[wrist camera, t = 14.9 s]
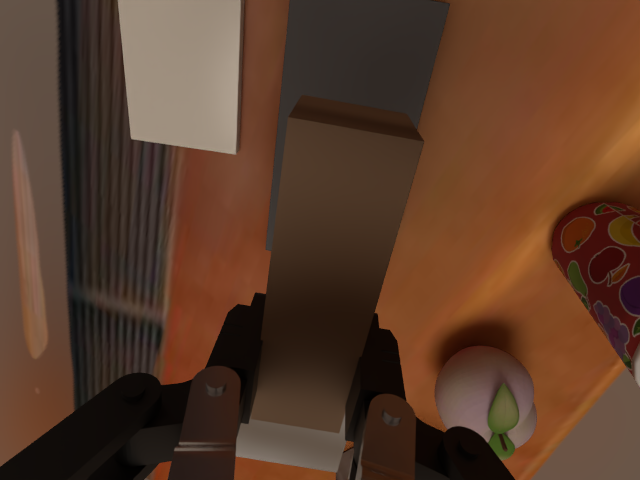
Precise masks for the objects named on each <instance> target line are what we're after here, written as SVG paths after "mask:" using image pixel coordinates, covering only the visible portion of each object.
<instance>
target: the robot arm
mask: <svg viewBox="0 0 640 480" xmlns="http://www.w3.org/2000/svg"><path fill="white" fill-rule="evenodd" d="M265 299H266V294H262V293H255V294H254V297H253V300H252V303H251V306H247V305H241V304H237V305H236V306H235V307H234V308H233V309H232V310H230V311H229V312H228V314H227V317H226V319H225V321H224V325H223V326H222V329H221V331H220V334H219V336H218V338H217V341H216V343H215V346H214V348H213V351H212V353H211V355H210V358H209V360H208V363H207V365H206V367H205V369H203V370H201V371H200V372H198V373H197V374H196V375H195V377H194V378H193V379H192V380H189V381H187V382H183V383H178V384H169V385H161V384H160V382H159V380H158V379H157V378H156V377H154V376H153V375H150V374H147V373H132V374H128V375H125V376H123V377H121V378H119V379H118V380H116V381H115V382H113V383H112V384H111V385H109V386H108V387H107V388H105V389H104V390H103V391H101V392H100V393H99V394H97V395H96V396H95V397H93V398H92V399H91V400H89V401H88V402H87V403H85V404H84V405H83V406H81V407H80V408H78V409H77V410H76V411H74V412H73V413H72V414H70V415H69V416H68V417H66V418H65V419H64V420H62V421H61V422H60V423H59V424H57V425H56V426H54V427H53V428H52V429H50V430H49V431H48V432H46V433H45V434H44V435H42V436H41V437H40V438H38V439H37V440H36V441H34V442H33V443H32V444H30V445H29V446H28V447H26V448H25V449H24V450H22V451H21V452H20V453H18V454H17V455H15V456H14V457H13V458H11V459H10V460H9V461H7V462H6V463H5V464H3V465H2V466H1V467H0V480H144V479H145V478H146V477H147V476H148V475H149V474H150V473H151V472H152V471H153V470H154V469H155V468H156V466H157V465H158V464H159V463H161V462H167V461H172V462H171V467H170V472H169V476H168V480H234V470H235V457H236V439H237V436H238V433H239V429H240V425H241V423H244V424H249V420H250V416H251V412H252V408H253V404H254V400H255V396H256V392H257V384H258V376H259V368H260V361H261V353H262V345H263V340H261V332H262V324H263V316H264V307H265ZM345 440H346V441H352V442H354V454H353V457H352V460H351V463H350V469H349V475H348V480H515V479H514V477H513V476H512V475H511V473H510V472H509V471H508V469H507V468H506V467H505V465H504V464H503V463H502V461H501V460H500V459H499V457H498V456H497V455H496V453H495V452H494V451H493V449H492V448H491V446H490V445H489V444H488V443H487V441H486V440H485V439H484V438H483V437H482V436H481V435H479V434H478V433H477V432H475V431H474V430H471V429H469V428H466V427H462V426H455V427H451V428H449V429H448V430H447V431H446V432H442V431H440V430H438V429H436V428H434V427H431V426H429V425H427V424H425V423H424V422H422V421H421V420H420V419H418V418H417V417H416V416H415V413H414V410H413V409H412V407H411V406H410V405H409V404H408V403H407V402H406V396H405V390H404V383H403V377H402V370H401V365H400V357H399V350H398V343H397V340H396V339H395V337H394V336H393V334H392V333H391V331H390V330H387V329H381V328H379V322H378V314H377V313H374V316H373V319H372V323H371V326H370V329H369V333H368V336H367V340H366V343H365V347H364V350H363V353H362V357H359V360H358V364H357V367H356V371H355V374H354V378H353V381H352V385H351V388H350V392H349V395H348V399H347V402H346V406H345Z"/></svg>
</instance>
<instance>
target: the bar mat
mask: <svg viewBox="0 0 640 480" xmlns="http://www.w3.org/2000/svg"><path fill="white" fill-rule="evenodd" d="M449 6H450V4H449V3H443V2H437V1H431V0H290V4H289V15H288V25H287V35H286V45H285V56H284V66H283V76H282V87H281V97H280V107H279V117H278V128H277V138H276V148H275V158H274V169H273V179H272V189H271V199H270V210H269V220H268V230H267V240H266V250H269V251H272V243H273V235H274V227H275V218H276V210H277V202H278V194H279V186H280V178H281V170H282V162H283V154H284V146H285V137H286V129H287V121H288V116H289V115H290V113H291V111H292V110H293V108H294V107H295V105H296V103H297V102H298V100H299V99H300V97H301V96H302V95H307V96H312V97H318V98H323V99H329V100H334V101H340V102H345V103H351V104H356V105H362V106H367V107H373V108H378V109H383V110H389V111H394V112H400V113H405V114H407V115H408V116H409V118H410V120H411V121H412V123H413V124H414V126H415V128H416V129H417V127H418V123H419V119H420V115H421V112H422V108H423V104H424V100H425V97H426V93H427V89H428V85H429V81H430V78H431V74H432V70H433V66H434V63H435V59H436V55H437V51H438V47H439V44H440V40H441V36H442V32H443V29H444V25H445V21H446V17H447V13H448V10H449Z"/></svg>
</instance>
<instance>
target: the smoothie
mask: <svg viewBox="0 0 640 480" xmlns="http://www.w3.org/2000/svg"><path fill="white" fill-rule="evenodd" d="M552 242H553V245H552V255H553V260H554V262H555V263H556V265H557V266H558V268H559V269H560V270H561V272H562V273H563V275H564V276H565V278H566V279H567V281H568V282H569V284H570V285H571V287H572V288H573V289H574V291H575V292H576V294H577V295H578V297H579V298H580V300H581V301H582V303H583V304H584V306H585V307H586V308H587V310H588V311H589V313H590V314H591V316H592V317H593V319H594V320H595V322H596V323H597V325H598V326H599V327H600V329H601V330H602V332H603V333H604V335H605V336H606V338H607V339H608V341H609V342H610V344H611V345H612V346H613V348H614V349H615V351H616V352H617V354H618V355H619V357H620V358H621V360H622V361H623V363H624V364H625V365H626V367H627V368H628V370H629V371H630V373H631V374H632V376H633V377H634V379H635V381H636V382H637V385H638V386H639V388H640V211H639V210H637V209H635V208H633V207H631V206H629V205H625V204H622V203H618V202H610V203H591V204H587V205H584V206H581V207H579V208H577V209H575V210H573V211H572V212H570V213H569V214H568V215H566V216H565V217H564V218H563V219H562V220H561V221H560V223H559V224H558V226H557V228H556V229H555V231H554V235H553V239H552Z"/></svg>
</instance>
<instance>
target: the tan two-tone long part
mask: <svg viewBox="0 0 640 480" xmlns="http://www.w3.org/2000/svg"><path fill="white" fill-rule="evenodd" d="M423 144H424V141H423V139H422V137H421V136H420V134H419V133H418V131H417V129H416V128H415V126H414V124H413V123H412V121H411V120H410V118H409V116H408V115H407V114H405V113H400V112H394V111H389V110H383V109H378V108H373V107H367V106H362V105H356V104H351V103H345V102H340V101H334V100H329V99H323V98H318V97H312V96H307V95H302V96H301V97H300V99H299V100H298V102H297V103H296V105H295V107H294V108H293V110H292V111H291V113H290V115H289V116H288V121H287V129H286V137H285V146H284V154H283V162H282V170H281V178H280V186H279V194H278V202H277V210H276V218H275V227H274V235H273V243H272V251H271V259H270V267H269V275H268V283H267V291H266V299H265V307H264V316H263V324H262V332H261V340H263V345H262V353H261V361H260V368H259V376H258V384H257V392H256V396H255V400H254V404H253V408H252V412H251V416H250V420H249V424H244V423H241V425H240V429H239V433H238V436H237V439H236V456H238V457H244V458H250V459H256V460H262V461H269V462H275V463H281V464H287V465H293V466H300V467H306V468H312V469H318V470H324V471H331V472H337V470H338V467H339V464H340V461H341V457H342V454H343V451H344V448H345V445H346V440H345V406H346V402H347V399H348V395H349V392H350V388H351V385H352V381H353V378H354V374H355V371H356V367H357V364H358V360H359V357H362V353H363V350H364V347H365V343H366V340H367V336H368V333H369V329H370V326H371V323H372V319H373V316H374V312H375V309H376V305H377V302H378V299H379V295H380V292H381V288H382V285H383V281H384V278H385V275H386V271H387V268H388V264H389V261H390V257H391V254H392V251H393V247H394V244H395V240H396V237H397V233H398V230H399V227H400V223H401V220H402V216H403V213H404V209H405V206H406V203H407V199H408V196H409V192H410V189H411V185H412V182H413V179H414V175H415V172H416V168H417V165H418V161H419V158H420V155H421V151H422V148H423Z"/></svg>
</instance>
